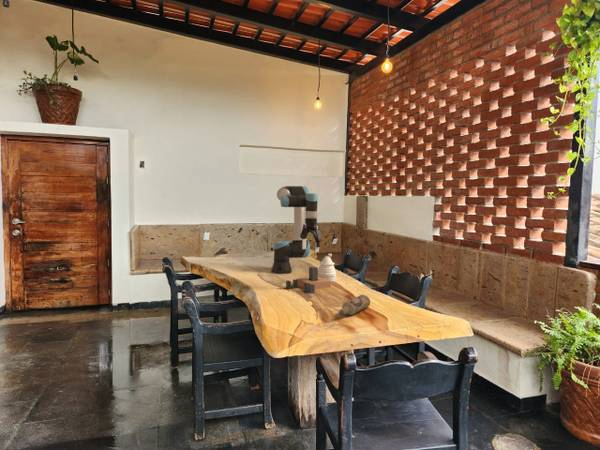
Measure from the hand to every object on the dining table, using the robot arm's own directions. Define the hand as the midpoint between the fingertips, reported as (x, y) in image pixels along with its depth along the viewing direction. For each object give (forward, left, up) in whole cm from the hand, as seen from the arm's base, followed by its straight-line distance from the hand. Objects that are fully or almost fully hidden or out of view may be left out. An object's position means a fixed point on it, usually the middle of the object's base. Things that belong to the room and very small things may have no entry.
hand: (310, 250), depth 241 cm
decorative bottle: (+56, -15, -23) cm, 62 cm away
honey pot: (-6, +19, -23) cm, 30 cm away
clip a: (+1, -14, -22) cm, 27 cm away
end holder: (+3, +1, -22) cm, 23 cm away
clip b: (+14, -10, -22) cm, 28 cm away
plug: (+3, 0, -22) cm, 23 cm away
